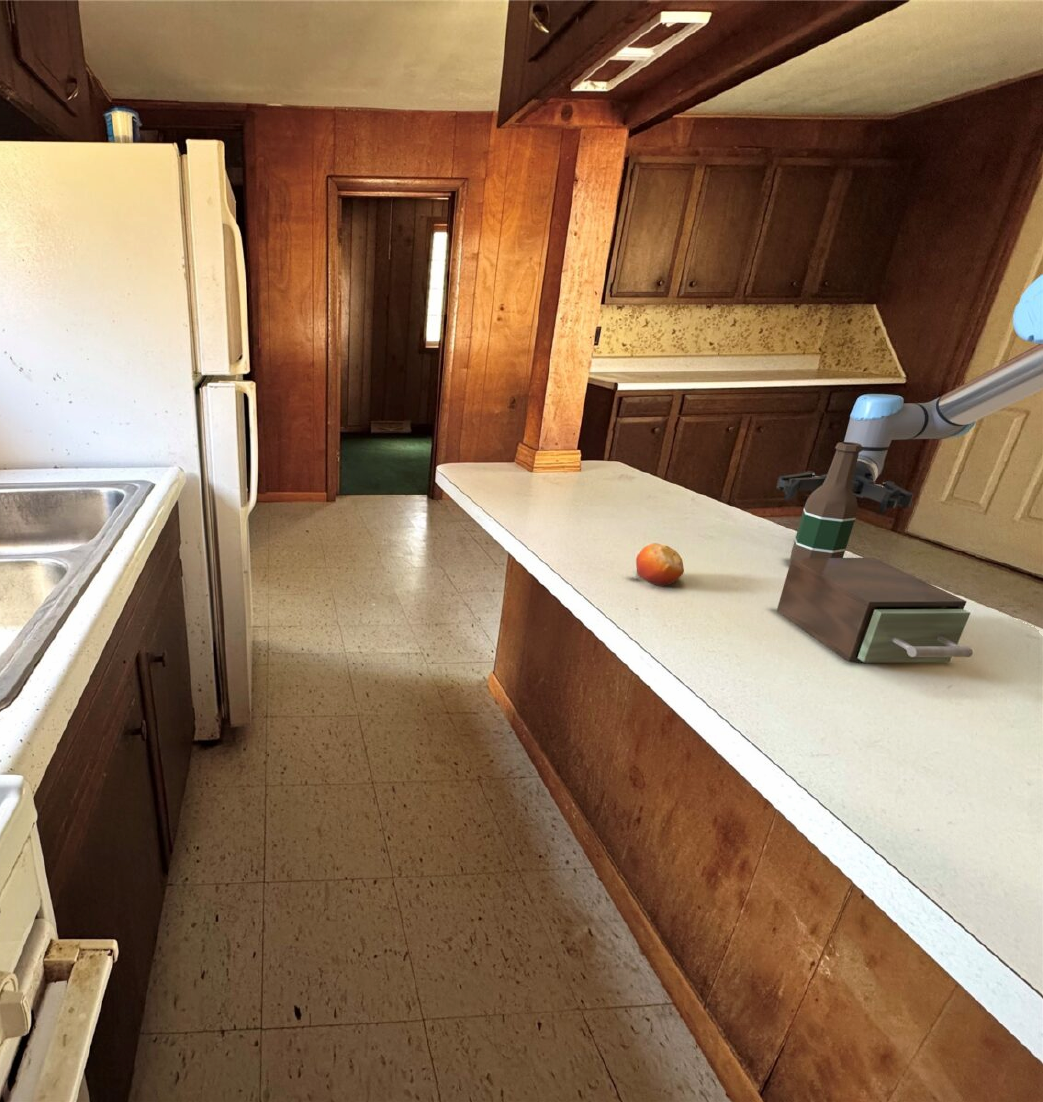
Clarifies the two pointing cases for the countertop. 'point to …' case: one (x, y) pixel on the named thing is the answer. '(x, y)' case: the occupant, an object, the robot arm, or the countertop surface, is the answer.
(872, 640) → the drawer
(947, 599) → the cabinet
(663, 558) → the fruit
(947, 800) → the countertop surface
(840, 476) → the beer bottle
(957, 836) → the countertop surface
